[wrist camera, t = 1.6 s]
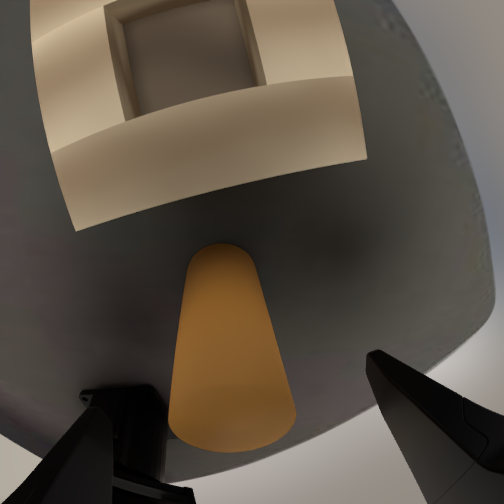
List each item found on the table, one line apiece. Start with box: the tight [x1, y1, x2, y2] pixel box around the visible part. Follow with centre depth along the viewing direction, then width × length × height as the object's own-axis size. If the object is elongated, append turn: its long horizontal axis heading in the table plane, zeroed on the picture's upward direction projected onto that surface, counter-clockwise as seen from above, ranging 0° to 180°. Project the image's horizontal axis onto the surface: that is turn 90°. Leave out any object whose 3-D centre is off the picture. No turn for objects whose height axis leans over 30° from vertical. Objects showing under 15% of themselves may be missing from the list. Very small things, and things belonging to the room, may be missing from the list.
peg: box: [168, 243, 296, 452], centre depth 12 cm, size 4×4×9 cm
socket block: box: [30, 0, 367, 231], centre depth 10 cm, size 12×12×3 cm
